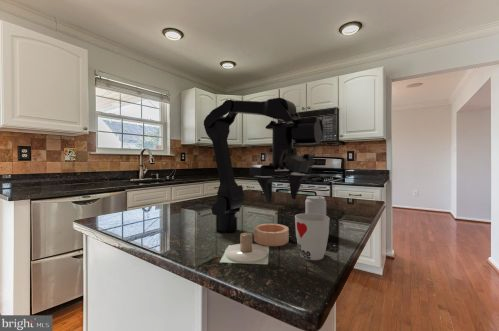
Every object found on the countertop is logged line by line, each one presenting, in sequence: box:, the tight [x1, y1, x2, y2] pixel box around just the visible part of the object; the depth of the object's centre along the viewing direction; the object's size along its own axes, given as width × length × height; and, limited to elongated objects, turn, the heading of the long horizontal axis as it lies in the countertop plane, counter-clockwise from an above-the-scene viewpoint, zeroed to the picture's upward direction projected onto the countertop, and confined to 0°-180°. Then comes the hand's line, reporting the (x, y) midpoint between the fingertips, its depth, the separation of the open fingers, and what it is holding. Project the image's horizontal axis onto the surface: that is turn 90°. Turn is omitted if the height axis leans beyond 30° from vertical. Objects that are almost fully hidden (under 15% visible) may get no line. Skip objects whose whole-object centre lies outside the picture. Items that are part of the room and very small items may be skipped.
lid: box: [224, 232, 267, 264], centre depth 60 cm, size 10×10×5 cm
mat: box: [219, 244, 270, 265], centre depth 60 cm, size 11×11×1 cm
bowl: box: [253, 223, 290, 247], centre depth 70 cm, size 10×10×4 cm
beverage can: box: [304, 195, 327, 216], centre depth 77 cm, size 6×6×12 cm
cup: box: [294, 212, 331, 261], centre depth 58 cm, size 8×8×10 cm
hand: (281, 200), depth 68 cm, fingers open, 9 cm apart
